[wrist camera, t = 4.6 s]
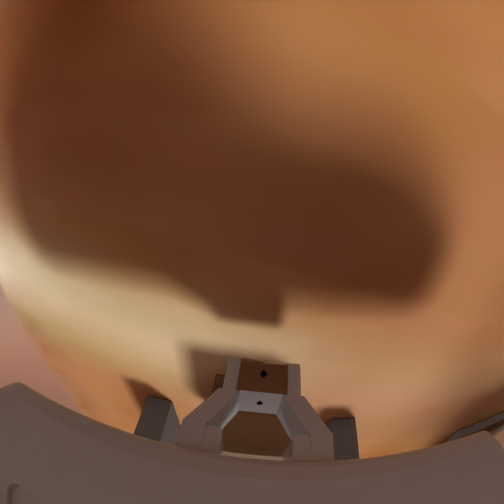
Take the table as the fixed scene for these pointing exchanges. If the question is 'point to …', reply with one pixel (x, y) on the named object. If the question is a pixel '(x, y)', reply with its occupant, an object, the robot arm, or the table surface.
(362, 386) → the table surface
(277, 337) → the table surface
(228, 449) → the walnut block
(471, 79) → the table surface
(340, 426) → the grey parallel walls
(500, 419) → the grey toy tower
